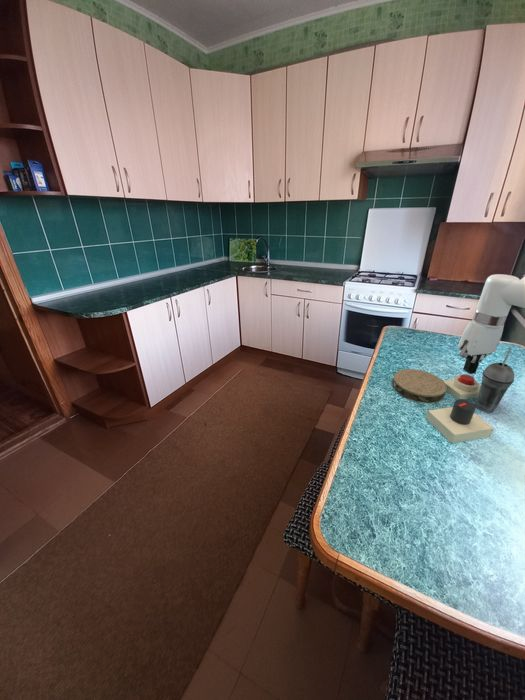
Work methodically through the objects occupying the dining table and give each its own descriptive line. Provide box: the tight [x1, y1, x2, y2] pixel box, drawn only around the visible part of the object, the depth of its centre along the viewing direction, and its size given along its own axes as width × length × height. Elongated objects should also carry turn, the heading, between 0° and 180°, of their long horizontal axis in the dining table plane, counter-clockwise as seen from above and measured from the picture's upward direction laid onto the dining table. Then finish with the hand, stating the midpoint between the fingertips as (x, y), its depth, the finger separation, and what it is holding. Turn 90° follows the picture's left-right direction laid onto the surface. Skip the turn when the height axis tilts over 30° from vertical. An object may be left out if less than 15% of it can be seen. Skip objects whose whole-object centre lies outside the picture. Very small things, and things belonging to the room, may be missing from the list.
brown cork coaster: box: [391, 368, 447, 404], centre depth 97 cm, size 16×16×3 cm
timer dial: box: [450, 398, 477, 425], centre depth 79 cm, size 5×5×5 cm
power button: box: [459, 373, 476, 385], centre depth 94 cm, size 4×4×2 cm
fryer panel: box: [425, 406, 495, 444], centre depth 81 cm, size 12×10×3 cm
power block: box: [443, 375, 481, 400], centre depth 96 cm, size 10×8×4 cm
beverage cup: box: [475, 348, 515, 414], centre depth 84 cm, size 7×7×20 cm
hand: (468, 371), depth 93 cm, fingers closed
